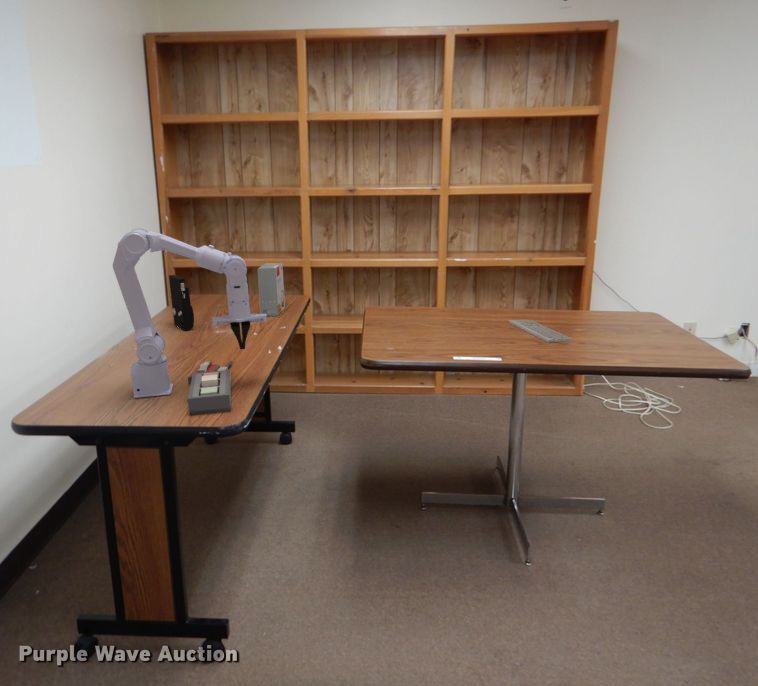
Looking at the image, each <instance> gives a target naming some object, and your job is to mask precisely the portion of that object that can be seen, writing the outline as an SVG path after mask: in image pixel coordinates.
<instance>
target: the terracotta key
mask: <svg viewBox="0 0 758 686" xmlns="http://www.w3.org/2000/svg"><path fill="white" fill-rule="evenodd" d="M208 375H218V378H219V372H212V373H204V374H203V376H208ZM218 384H219V386H220V383H218Z"/></svg>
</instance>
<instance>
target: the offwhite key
mask: <svg viewBox="0 0 758 686" xmlns="http://www.w3.org/2000/svg"><path fill="white" fill-rule="evenodd" d="M201 383H202V387H211V386H219V384H218V375H208V376H202V379H201Z"/></svg>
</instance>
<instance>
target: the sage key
mask: <svg viewBox="0 0 758 686" xmlns="http://www.w3.org/2000/svg"><path fill="white" fill-rule="evenodd" d="M211 394H218V387H207V388H201V395H211Z"/></svg>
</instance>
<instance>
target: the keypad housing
mask: <svg viewBox="0 0 758 686" xmlns="http://www.w3.org/2000/svg"><path fill="white" fill-rule="evenodd" d="M212 372H219V378H218V383H220V386H211V387H218V394H211V395H201V388H207V387H202V383H201V379H202V376H203V374H204V373H212ZM212 372H201V373H193V372H192V373H193V375H192V380H191V385H189V389H188V396H187V405H188V413H189V416H196V415H205V414H206V415H207V414H216V412H218V413H225V412H226V411H227V412H231V411H232V381H231V380H232V379H231V369H228V370H223V371H212Z"/></svg>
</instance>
